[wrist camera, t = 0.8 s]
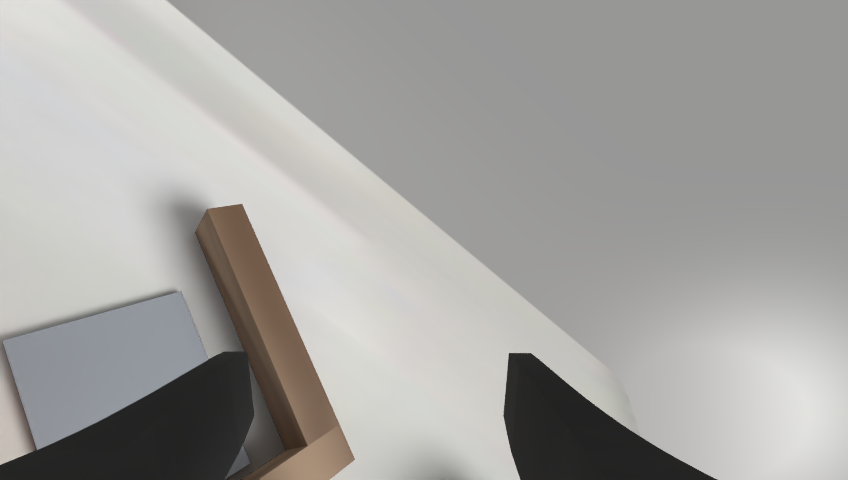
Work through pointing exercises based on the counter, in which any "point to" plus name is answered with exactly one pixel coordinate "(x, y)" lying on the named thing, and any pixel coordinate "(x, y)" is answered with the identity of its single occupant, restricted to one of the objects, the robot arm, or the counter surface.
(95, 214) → the counter surface
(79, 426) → the mat
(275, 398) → the brown l-shaped piece
